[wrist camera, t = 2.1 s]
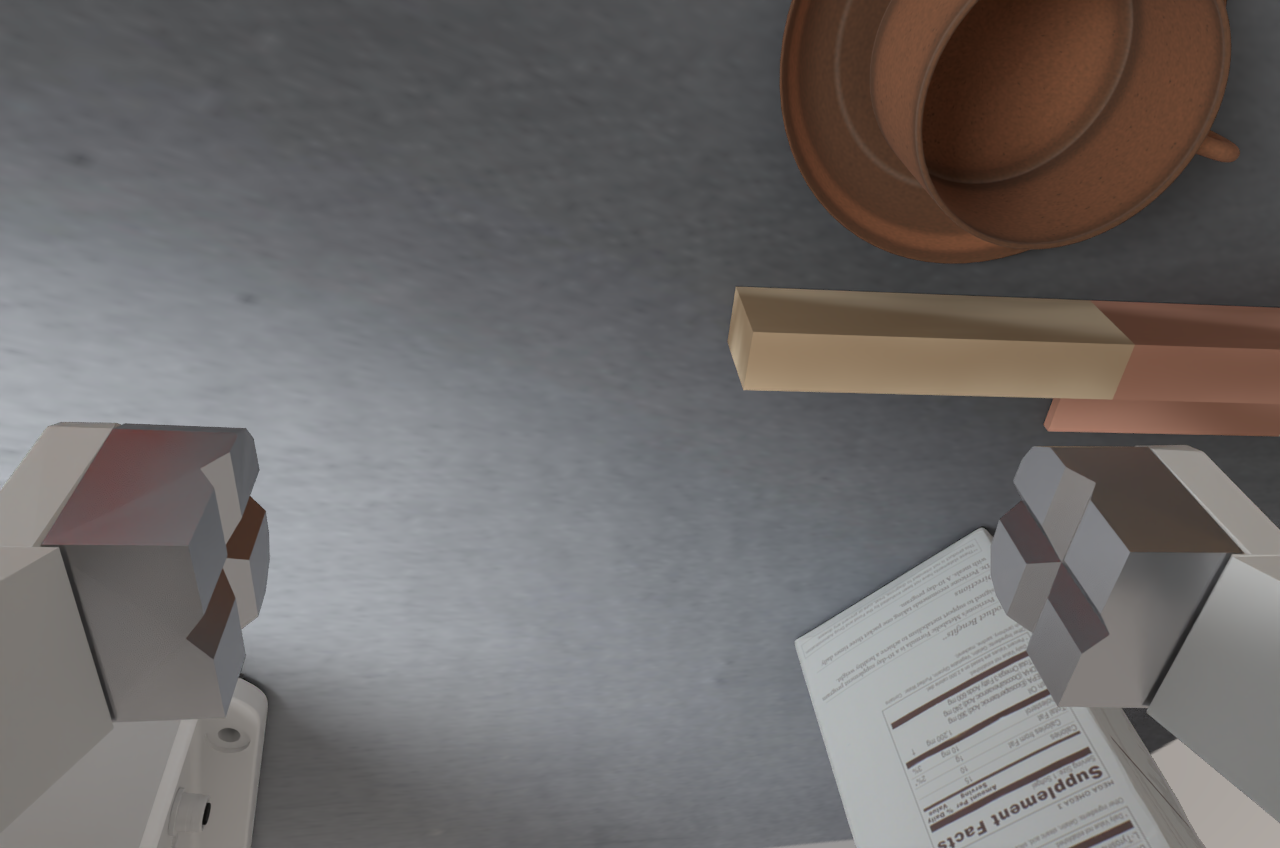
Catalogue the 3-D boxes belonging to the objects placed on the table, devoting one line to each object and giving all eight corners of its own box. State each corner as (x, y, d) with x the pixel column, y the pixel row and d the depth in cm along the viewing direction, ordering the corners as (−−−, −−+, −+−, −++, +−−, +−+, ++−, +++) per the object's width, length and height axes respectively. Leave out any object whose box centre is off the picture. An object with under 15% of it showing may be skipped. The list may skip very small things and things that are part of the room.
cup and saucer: (1248, -215, 25) (1429, -207, 20) (1124, 229, 32) (1236, 319, 27) (780, -207, 24) (846, -196, 19) (754, 246, 31) (797, 343, 26)
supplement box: (786, 638, 41) (916, 1095, 27) (981, 517, 38) (1238, 957, 24) (905, 743, 45) (1068, 1180, 32) (1086, 642, 43) (1354, 1073, 29)
